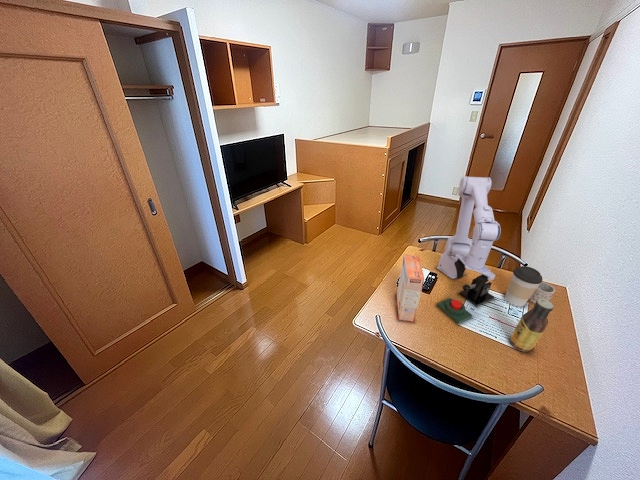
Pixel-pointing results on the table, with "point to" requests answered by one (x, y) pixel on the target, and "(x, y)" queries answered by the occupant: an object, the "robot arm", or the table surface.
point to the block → (454, 311)
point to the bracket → (478, 294)
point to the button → (456, 304)
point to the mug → (542, 292)
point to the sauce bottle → (531, 326)
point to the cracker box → (409, 287)
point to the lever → (469, 287)
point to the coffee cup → (522, 285)
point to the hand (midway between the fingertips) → (467, 283)
